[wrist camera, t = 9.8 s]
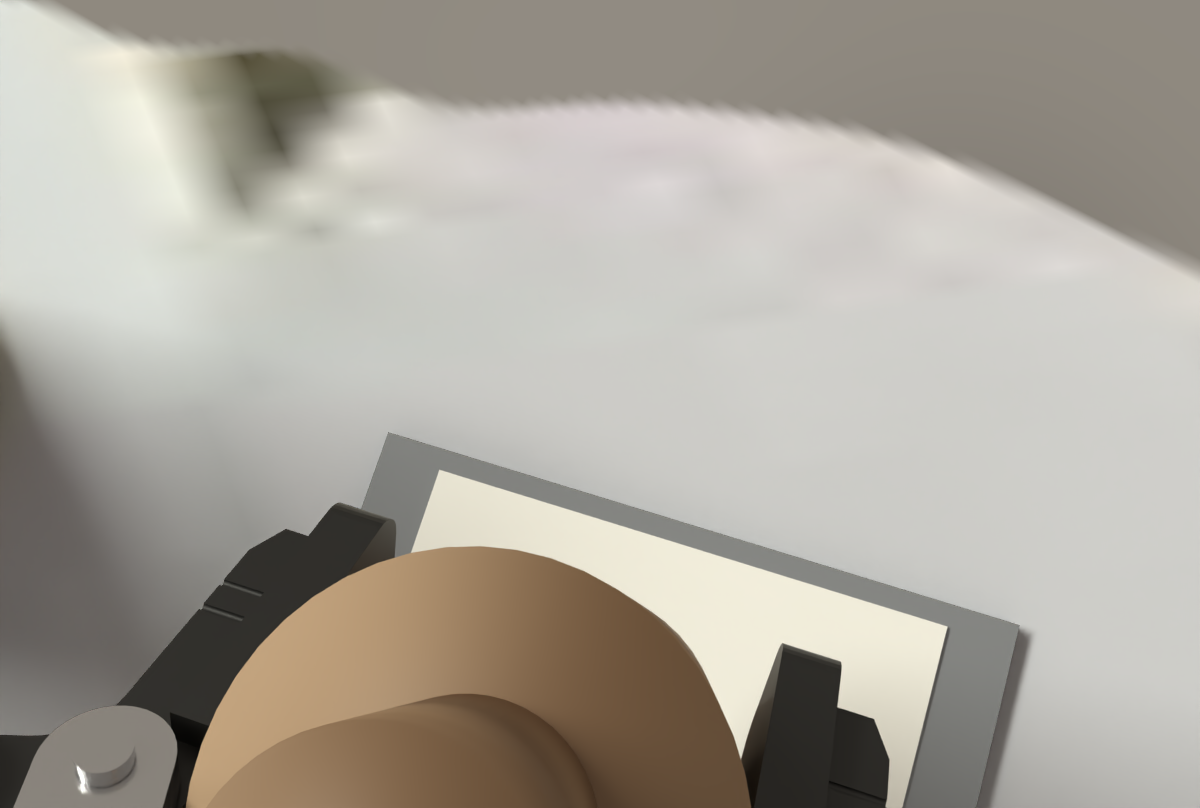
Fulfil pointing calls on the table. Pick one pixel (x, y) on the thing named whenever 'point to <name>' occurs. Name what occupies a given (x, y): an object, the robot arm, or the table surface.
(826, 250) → the table surface
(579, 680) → the walnut skittle
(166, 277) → the table surface
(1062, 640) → the table surface
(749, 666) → the lane mat
